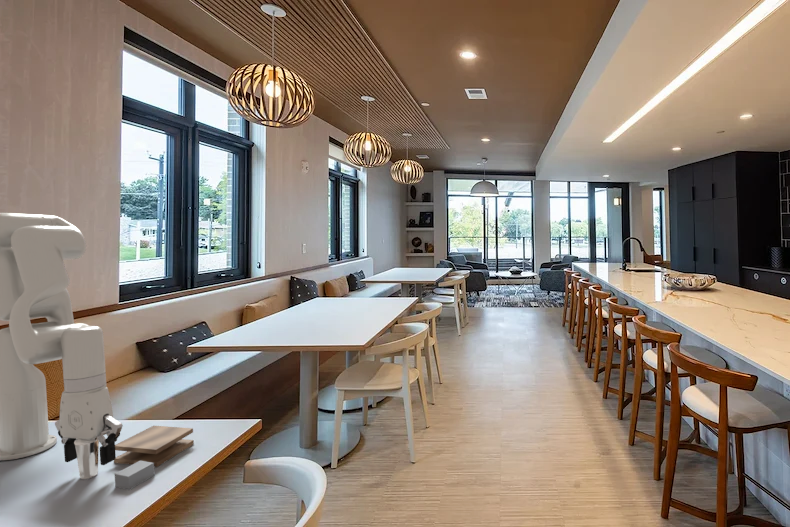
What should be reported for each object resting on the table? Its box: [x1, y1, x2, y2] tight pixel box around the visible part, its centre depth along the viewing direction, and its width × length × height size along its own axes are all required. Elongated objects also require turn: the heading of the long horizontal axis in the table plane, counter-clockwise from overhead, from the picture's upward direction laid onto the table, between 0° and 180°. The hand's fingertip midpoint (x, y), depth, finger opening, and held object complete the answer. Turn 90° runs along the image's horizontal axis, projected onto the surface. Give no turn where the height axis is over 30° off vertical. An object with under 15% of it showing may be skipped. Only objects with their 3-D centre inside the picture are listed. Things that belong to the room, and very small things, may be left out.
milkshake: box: [74, 438, 100, 480], centre depth 95 cm, size 4×5×10 cm
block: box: [114, 460, 155, 491], centre depth 92 cm, size 4×6×3 cm, turn 160°
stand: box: [113, 425, 195, 468], centre depth 106 cm, size 12×12×4 cm
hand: (90, 460), depth 95 cm, fingers open, 9 cm apart
